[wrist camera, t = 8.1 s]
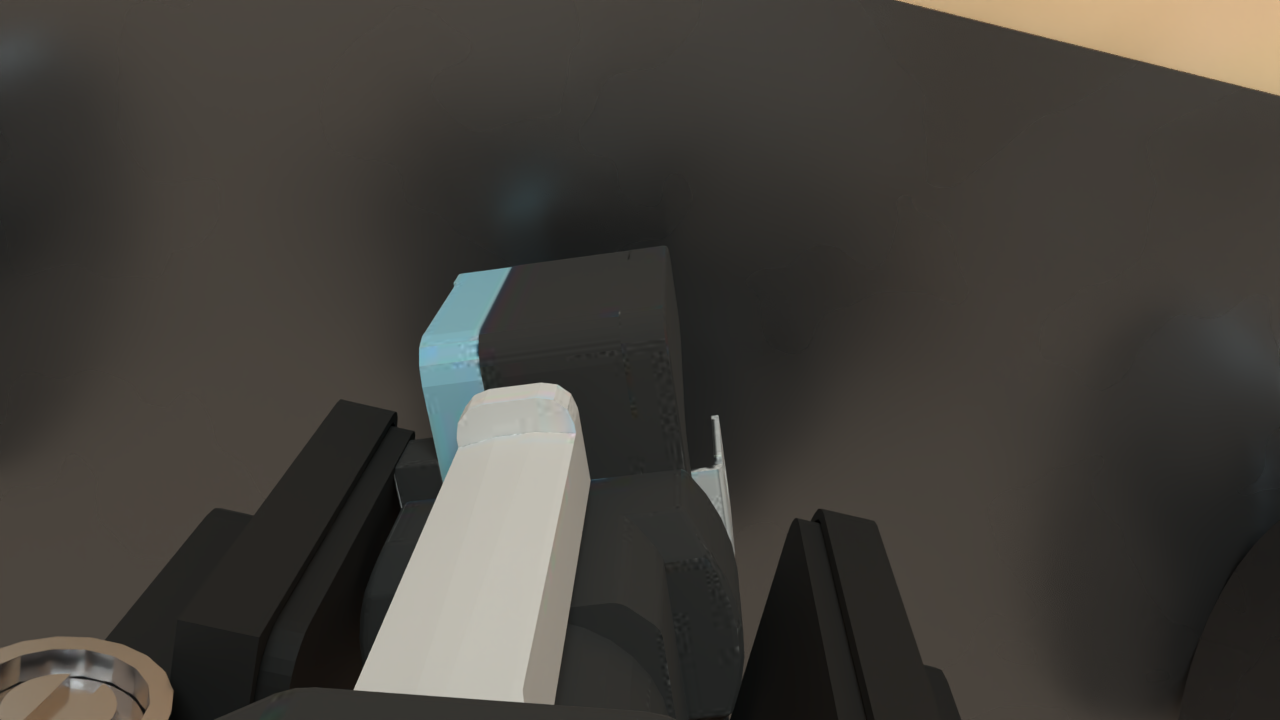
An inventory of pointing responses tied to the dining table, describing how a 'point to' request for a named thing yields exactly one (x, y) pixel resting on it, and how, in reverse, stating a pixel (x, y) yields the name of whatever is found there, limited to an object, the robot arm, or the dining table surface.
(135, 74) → the plate with silver knobs
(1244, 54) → the dining table surface
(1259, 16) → the dining table surface
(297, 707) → the push button
